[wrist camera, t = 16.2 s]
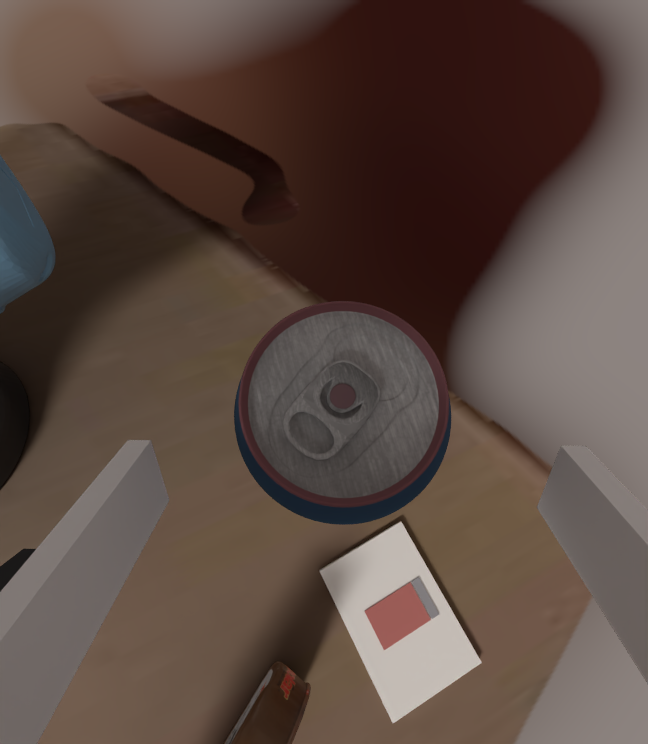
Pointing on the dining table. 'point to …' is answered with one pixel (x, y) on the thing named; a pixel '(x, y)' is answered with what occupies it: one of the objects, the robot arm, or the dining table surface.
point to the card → (399, 620)
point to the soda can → (343, 413)
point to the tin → (272, 709)
